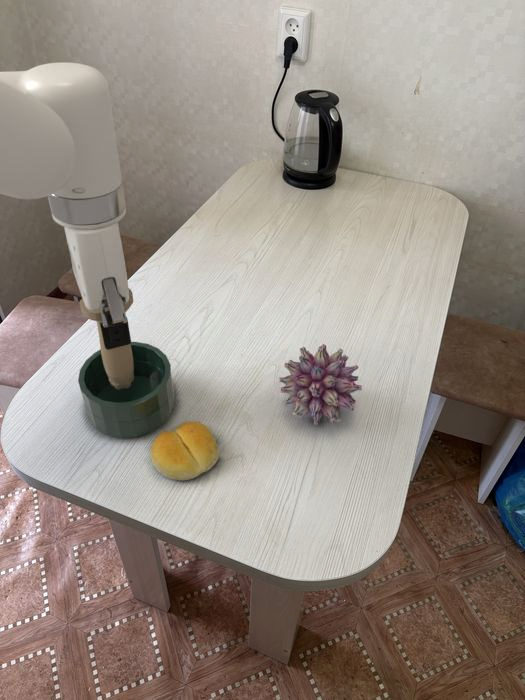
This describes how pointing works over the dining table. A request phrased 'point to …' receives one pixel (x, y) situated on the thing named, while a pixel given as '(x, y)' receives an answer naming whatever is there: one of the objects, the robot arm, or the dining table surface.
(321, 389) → the flower
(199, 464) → the bread roll
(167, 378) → the pot
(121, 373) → the handle
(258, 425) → the dining table surface
